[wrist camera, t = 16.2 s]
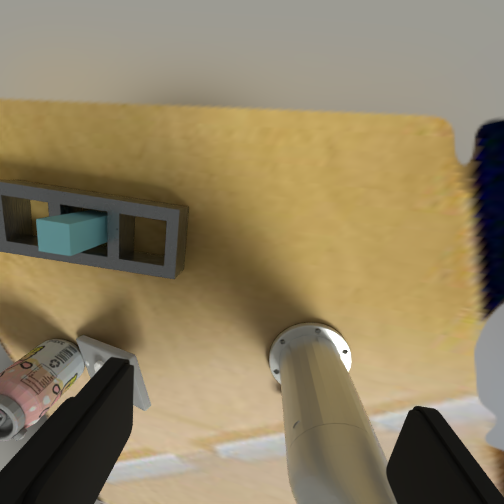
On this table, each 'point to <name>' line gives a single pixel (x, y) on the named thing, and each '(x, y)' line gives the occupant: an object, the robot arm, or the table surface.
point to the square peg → (72, 232)
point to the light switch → (101, 352)
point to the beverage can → (36, 385)
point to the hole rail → (118, 227)
